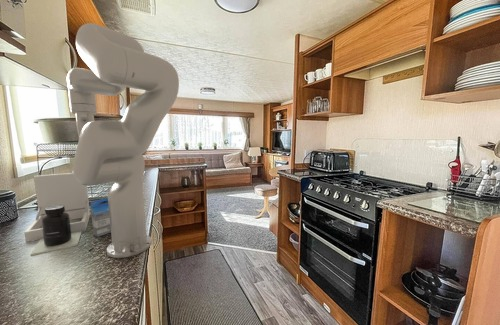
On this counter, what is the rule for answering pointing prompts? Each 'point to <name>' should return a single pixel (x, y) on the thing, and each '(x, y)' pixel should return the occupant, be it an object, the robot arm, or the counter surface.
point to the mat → (43, 248)
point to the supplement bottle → (56, 226)
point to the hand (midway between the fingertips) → (88, 156)
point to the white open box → (59, 201)
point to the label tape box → (100, 217)
